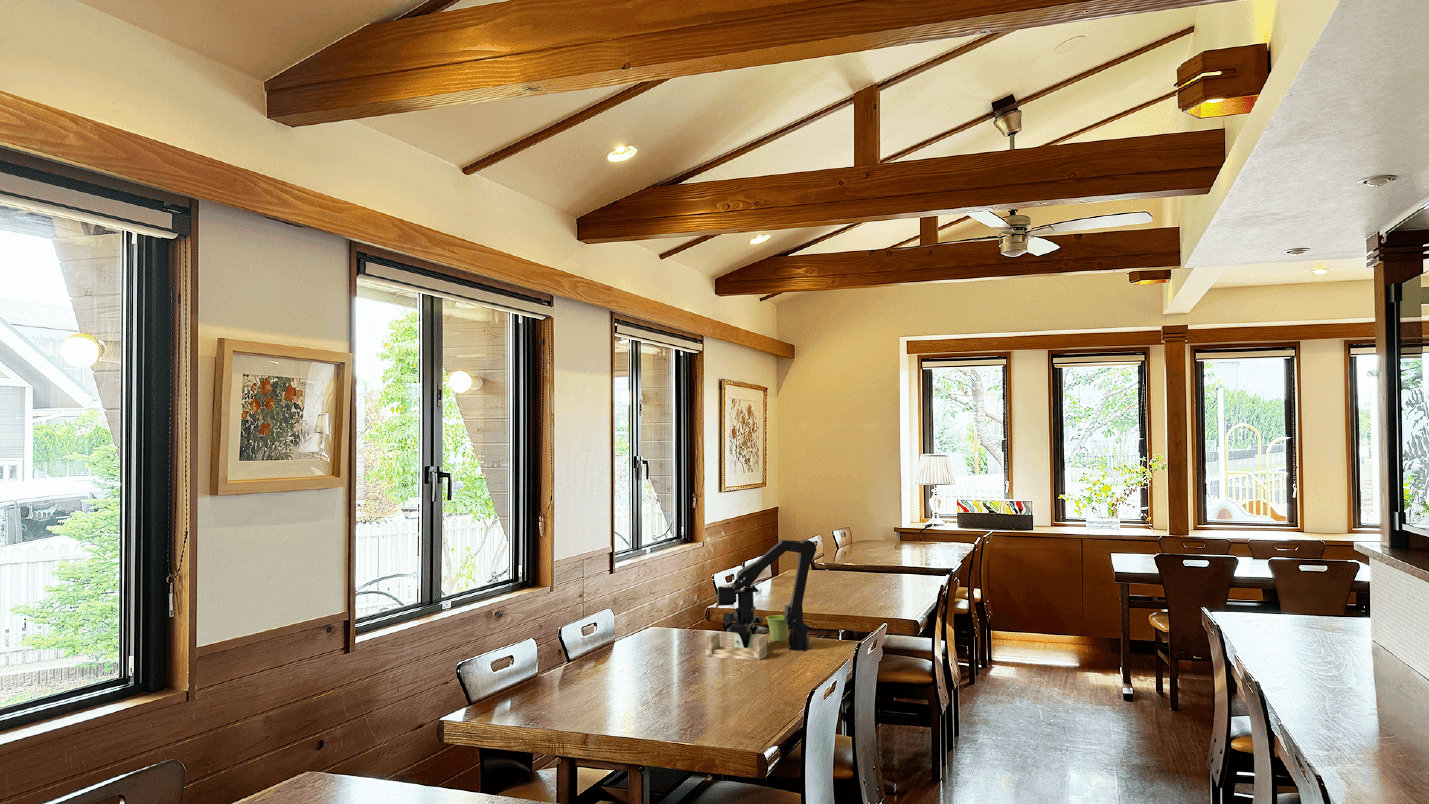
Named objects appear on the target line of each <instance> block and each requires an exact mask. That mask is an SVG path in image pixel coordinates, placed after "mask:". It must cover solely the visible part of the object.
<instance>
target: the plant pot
mask: <svg viewBox="0 0 1429 804" xmlns="http://www.w3.org/2000/svg"><path fill="white" fill-rule="evenodd" d="M765 619H766V621H767V623H768V624H767V625H768V631H769V635H770V636H769V637H770V641H771V642H772V641H773V642H787V640H788V633H789V626H788V625H787V624H786V622H785V620H784V616H783V614H777V615H773V614H772V615H768V616H766V617H765Z"/></svg>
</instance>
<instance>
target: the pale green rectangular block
mask: <svg viewBox="0 0 1429 804" xmlns="http://www.w3.org/2000/svg"><path fill="white" fill-rule="evenodd" d="M760 635H761V634H760V633H756V634H751V638H750V642H749V645H748V648H754V642H753V639H755V638H757V637H758V636H760ZM733 645H734V646H733V647H740V648H744V646H743V643H742V640H741V637H740V635H739V634H738V633H734V634H733Z"/></svg>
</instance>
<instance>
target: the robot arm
mask: <svg viewBox="0 0 1429 804" xmlns="http://www.w3.org/2000/svg"><path fill="white" fill-rule="evenodd" d="M785 552H791V553H797V568H796V573H795V577H794V578H795V579H794V583H793V590H792V595H791V599H790V602H789V604H788V605H787V604H784V612H783V614H782V615H783V616H784V620H785V622H786V624H787V625H788V628H790V631H789V635H788V650H792V651H794V650H795V651H807V650H808V649H810V648H811V647H812V646H811V645H810V637H809V636H810V633H809V630H810V627H809V625H807V624H806V622H804V621H803V620H804V619H803V618H804V611H803V609H804V607H803V601H804V595H805V591H806V585H807V579H808V574H809V569H810V566H811V563H812V561H813V560H814V557H815V554H816V552H817V545H816V544H815V543H814V541H812V540H810V539H807V538H804V539H802V540H801V539H800V540H790V539H789V540H787V539H785V538H784V539H780V540H779V541H778V542H777V543H776V544H775V545H774V546H773V547H771V548H770V549H769V550H767V552H765V553H764V554H763V555H762V556H760V557H759V558H758V559H757V560H756V561H754V562H753V563H750V564H748V565H746V566H745V567H742V568H741V569H740V570H738V572H737V573H736V579H735V580H734V581H733V583H732V585H731V586H722V585H721V586H717V595H716V603H717V606H718V607H720V606H726V607H727V606H734V604H735V603H737V607H736V608H735V611H733V612H731V613H730V612H729V611H727V612H725V613H723V615H722V617H721V618H722V622H724V625H725V626H726V625H730V626H729V632H730V633H732V634H733V633H734V634H736V633H738V634H739V635H740V637H741V640H742V643H743V646H744V648H748V645H749V642H750V638H751V634H757V631H758V629H759V626H756V624H758V625H760V626H761V625H762V624H763V622H764V620H763V617H762V616H761V615H755V610H756V608H757V607H756V606H755V602H754V593H759V592H760V591H759V589H758V588H757V587H756V586H755V585H754V582H755V581H756V580H757V579H758V578H759V576H760V575H761V573H762V572H763V571H764V570H765V569H766V568H768V567H769V566H770V565H771V564H773V563H774V562H775V561H776V560H777V559H779V558H780V557H781V556H782V555H784V553H785ZM731 623H732V624H731Z"/></svg>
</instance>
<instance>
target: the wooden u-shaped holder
mask: <svg viewBox="0 0 1429 804" xmlns="http://www.w3.org/2000/svg"><path fill="white" fill-rule="evenodd" d="M720 633H721V632H719V631H718V632H716V631H715V632H712V633H710V634H708V635H706V636H705V652H706V653H705V655H706V657H707V658H708V657H709V658H721V659H733V660H734V659H737V660H748V661H749V660H750V661H751V660H752V661H754V660H755V661H760V660H762V659H763V658H765V657H767V656H768V642H767V639H768V637H767V634H760V636H758V637H757V638H755V639H753V642H754V648H740V647H734V646H722V645H721V640H720V639H721V637H720ZM766 655H767V656H766Z"/></svg>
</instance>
